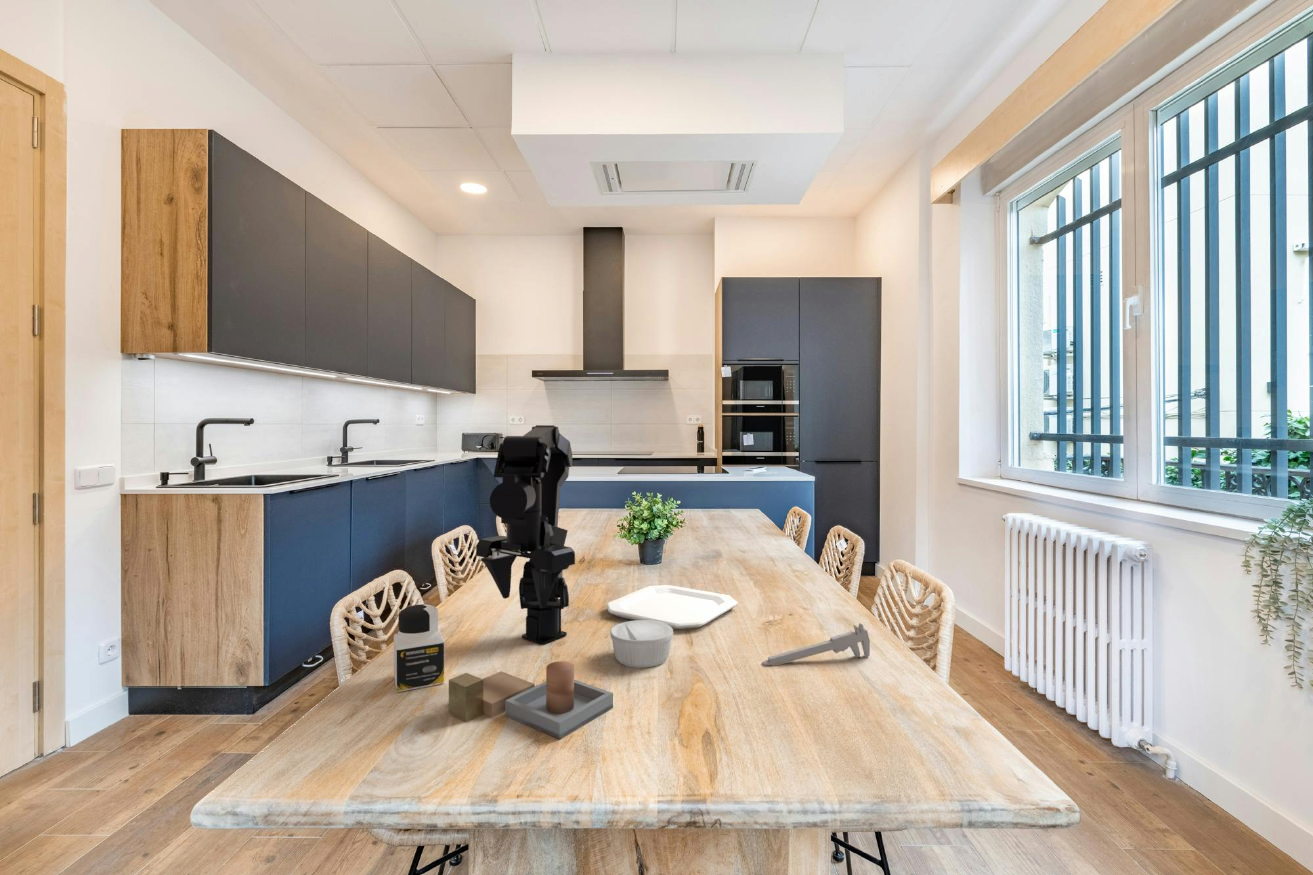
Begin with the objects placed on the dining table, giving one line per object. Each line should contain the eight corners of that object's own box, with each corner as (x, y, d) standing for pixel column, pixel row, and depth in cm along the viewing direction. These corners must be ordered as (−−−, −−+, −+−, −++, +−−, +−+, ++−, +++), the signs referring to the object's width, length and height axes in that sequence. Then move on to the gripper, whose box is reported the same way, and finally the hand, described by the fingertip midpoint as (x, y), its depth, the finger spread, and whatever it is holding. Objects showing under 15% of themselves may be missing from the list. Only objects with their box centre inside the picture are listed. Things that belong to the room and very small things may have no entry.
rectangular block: (466, 706, 87) (466, 672, 87) (483, 713, 85) (483, 679, 85) (448, 713, 85) (448, 679, 85) (465, 722, 82) (465, 686, 82)
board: (501, 686, 95) (501, 671, 95) (534, 700, 90) (534, 683, 90) (458, 705, 88) (458, 688, 88) (491, 720, 84) (491, 703, 84)
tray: (560, 688, 93) (560, 674, 93) (613, 707, 87) (613, 692, 87) (505, 715, 84) (505, 700, 84) (559, 739, 78) (559, 723, 78)
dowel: (560, 698, 88) (560, 659, 88) (579, 705, 86) (579, 665, 86) (540, 708, 85) (540, 667, 85) (560, 716, 83) (560, 674, 83)
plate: (745, 606, 137) (745, 597, 137) (693, 638, 116) (693, 627, 116) (656, 591, 150) (656, 582, 150) (595, 617, 129) (595, 607, 129)
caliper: (866, 656, 107) (866, 622, 107) (869, 658, 106) (869, 624, 106) (761, 665, 103) (761, 630, 103) (763, 667, 102) (763, 632, 102)
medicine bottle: (396, 693, 91) (396, 617, 91) (393, 676, 98) (393, 604, 97) (444, 684, 95) (444, 610, 94) (438, 668, 101) (438, 598, 101)
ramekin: (597, 659, 105) (597, 629, 105) (641, 642, 114) (641, 615, 113) (642, 677, 98) (642, 645, 98) (685, 657, 106) (685, 628, 106)
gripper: (597, 509, 99) (597, 600, 100) (523, 501, 110) (523, 583, 111) (549, 517, 90) (549, 618, 91) (473, 507, 101) (474, 597, 102)
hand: (524, 602), depth 99 cm, fingers open, 9 cm apart
